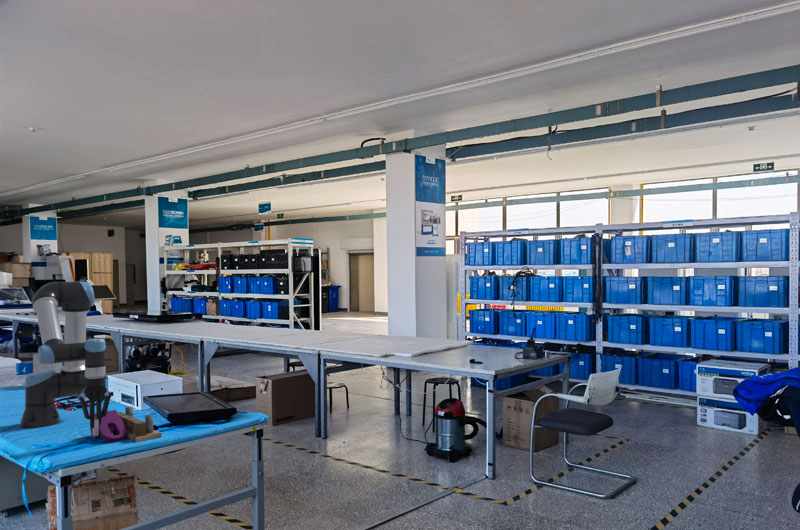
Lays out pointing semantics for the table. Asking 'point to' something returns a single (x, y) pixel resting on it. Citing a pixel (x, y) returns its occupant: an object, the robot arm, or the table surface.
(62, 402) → the table surface
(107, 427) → the mounting bracket
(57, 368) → the hard drive box
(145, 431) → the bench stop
